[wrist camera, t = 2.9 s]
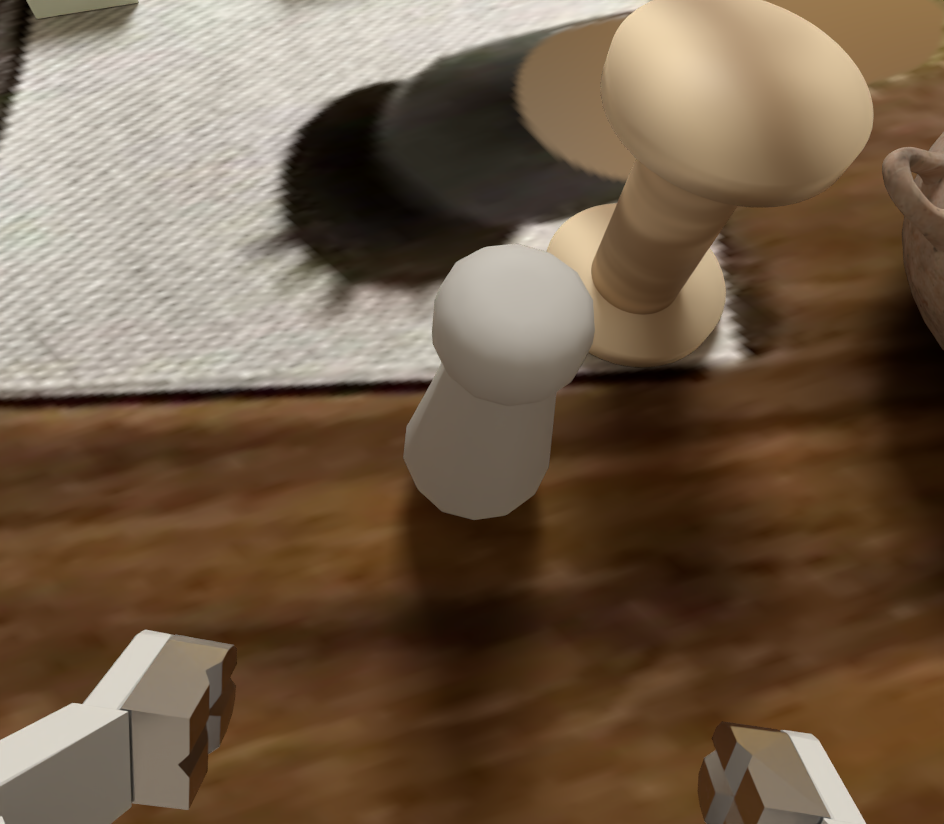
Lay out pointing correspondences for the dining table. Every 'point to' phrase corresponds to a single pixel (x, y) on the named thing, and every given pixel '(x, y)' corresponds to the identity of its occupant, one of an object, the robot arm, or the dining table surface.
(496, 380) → the salt shaker
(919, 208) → the cooking pot
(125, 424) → the dining table surface
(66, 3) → the notched board
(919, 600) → the dining table surface
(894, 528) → the dining table surface
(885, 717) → the dining table surface
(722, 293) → the bobbin
